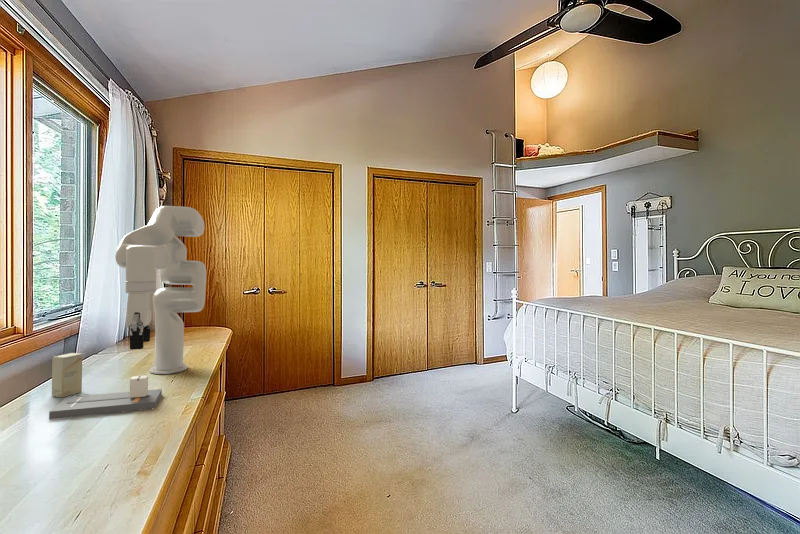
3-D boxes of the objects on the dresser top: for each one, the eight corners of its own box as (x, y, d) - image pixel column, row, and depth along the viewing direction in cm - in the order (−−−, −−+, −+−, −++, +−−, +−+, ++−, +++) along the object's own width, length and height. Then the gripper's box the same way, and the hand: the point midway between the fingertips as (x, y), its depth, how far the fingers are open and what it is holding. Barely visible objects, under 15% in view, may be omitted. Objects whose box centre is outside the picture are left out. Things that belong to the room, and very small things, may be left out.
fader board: (66, 403, 117) (66, 396, 117) (161, 395, 126) (161, 388, 126) (49, 419, 106) (49, 411, 106) (154, 408, 115) (154, 401, 115)
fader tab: (132, 394, 119) (132, 376, 119) (147, 393, 121) (148, 375, 121) (129, 397, 116) (129, 379, 116) (145, 396, 118) (146, 378, 118)
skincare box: (62, 397, 122) (63, 357, 121) (50, 396, 122) (51, 356, 122) (82, 391, 128) (83, 353, 128) (71, 390, 129) (71, 352, 128)
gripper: (132, 284, 125) (132, 339, 125) (117, 290, 109) (117, 353, 109) (160, 285, 128) (159, 338, 128) (150, 290, 112) (149, 351, 112)
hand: (140, 345), depth 119 cm, fingers open, 9 cm apart
